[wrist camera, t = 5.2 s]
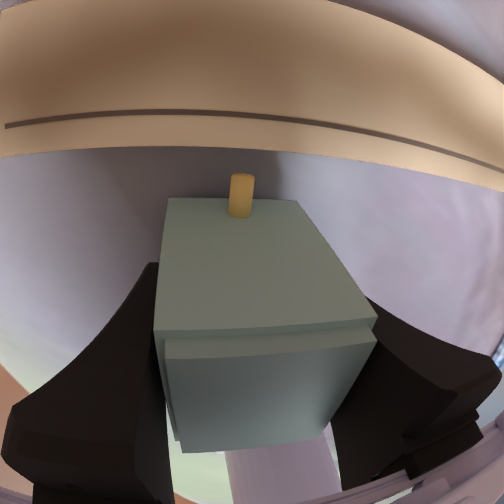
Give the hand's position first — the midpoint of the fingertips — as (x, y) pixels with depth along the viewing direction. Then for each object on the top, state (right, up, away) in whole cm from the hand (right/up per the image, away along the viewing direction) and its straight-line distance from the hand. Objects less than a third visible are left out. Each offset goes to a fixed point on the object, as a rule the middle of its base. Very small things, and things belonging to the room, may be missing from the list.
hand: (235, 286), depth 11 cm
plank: (+3, +7, -1) cm, 8 cm away
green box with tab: (0, +1, +1) cm, 2 cm away
